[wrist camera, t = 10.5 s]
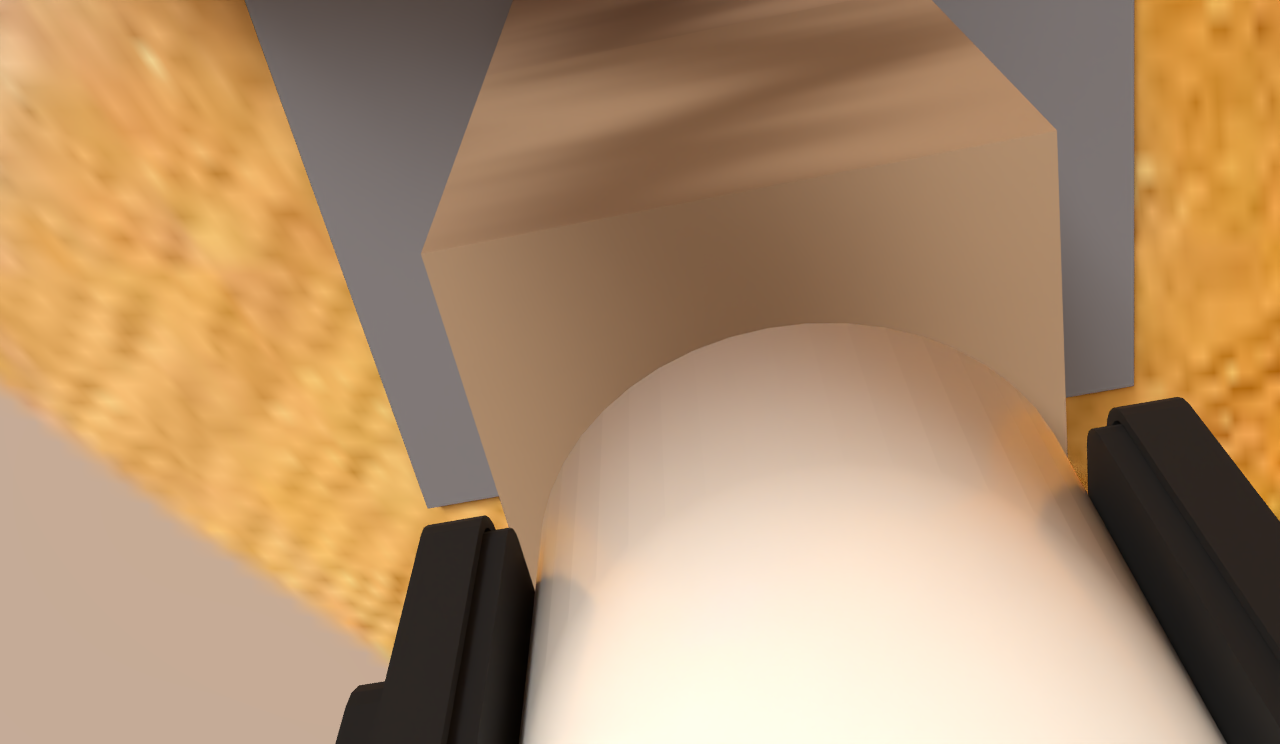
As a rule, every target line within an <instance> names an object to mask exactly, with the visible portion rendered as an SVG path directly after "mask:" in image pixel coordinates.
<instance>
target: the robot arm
mask: <svg viewBox="0 0 1280 744" xmlns="http://www.w3.org/2000/svg"><path fill="white" fill-rule="evenodd" d="M1087 465H1088V496H1089V498H1090V499H1091V501H1092V503H1093V505H1094V506H1095V508H1096V510H1097V512H1098V514H1099V515H1100V517H1101V519H1102V521H1103V523H1104V524H1105V526H1106V528H1107V530H1108V532H1109V533H1110V535H1111V537H1112V539H1113V541H1114V542H1115V544H1116V546H1117V548H1118V549H1119V551H1120V553H1121V555H1122V557H1123V558H1124V560H1125V562H1126V564H1127V566H1128V567H1129V569H1130V571H1131V573H1132V575H1133V576H1134V578H1135V580H1136V582H1137V584H1138V585H1139V587H1140V589H1141V591H1142V592H1143V594H1144V596H1145V598H1146V600H1147V601H1148V603H1149V605H1150V607H1151V609H1152V610H1153V612H1154V614H1155V616H1156V618H1157V619H1158V621H1159V623H1160V625H1161V627H1162V628H1163V630H1164V632H1165V634H1166V635H1167V637H1168V639H1169V641H1170V643H1171V644H1172V646H1173V648H1174V650H1175V652H1176V653H1177V655H1178V657H1179V659H1180V661H1181V662H1182V664H1183V666H1184V668H1185V670H1186V671H1187V673H1188V675H1189V677H1190V678H1191V680H1192V682H1193V684H1194V686H1195V687H1196V689H1197V691H1198V693H1199V695H1200V696H1201V698H1202V700H1203V702H1204V704H1205V705H1206V707H1207V709H1208V711H1209V713H1210V714H1211V716H1212V718H1213V720H1214V721H1215V723H1216V725H1217V727H1218V729H1219V730H1220V732H1221V734H1222V736H1223V738H1224V739H1225V741H1226V743H1227V744H1280V521H1279V520H1278V519H1277V517H1276V516H1275V515H1274V514H1273V512H1272V511H1271V510H1270V508H1269V507H1268V506H1267V504H1266V503H1265V502H1264V501H1263V499H1262V498H1261V497H1260V495H1259V494H1258V493H1257V491H1256V490H1255V489H1254V488H1253V486H1252V485H1251V484H1250V482H1249V481H1248V480H1247V478H1246V477H1245V476H1244V475H1243V473H1242V472H1241V471H1240V469H1239V468H1238V467H1237V465H1236V464H1235V463H1234V462H1233V460H1232V459H1231V458H1230V456H1229V455H1228V454H1227V452H1226V451H1225V450H1224V449H1223V447H1222V446H1221V445H1220V443H1219V442H1218V441H1217V440H1216V438H1215V437H1214V436H1213V434H1212V433H1211V432H1210V430H1209V429H1208V428H1207V427H1206V425H1205V424H1204V423H1203V421H1202V420H1201V419H1200V417H1199V416H1198V415H1197V414H1196V412H1195V411H1194V410H1193V408H1192V407H1191V406H1190V404H1189V403H1188V402H1186V401H1185V400H1184V399H1183V398H1180V397H1175V398H1169V399H1163V400H1157V401H1151V402H1145V403H1139V404H1133V405H1128V406H1122V407H1116V408H1113V409H1112V410H1111V411H1110V412H1109V415H1108V419H1107V426H1105V427H1099V428H1094V429H1091V430H1090V431H1089V433H1088V437H1087ZM534 597H535V589H534V586H533V583H532V580H531V577H530V574H529V570H528V567H527V564H526V561H525V558H524V555H523V552H522V548H521V545H520V542H519V539H518V537H517V534H516V532H515V531H514V529H513V528H505V529H499V530H495V527H494V525H493V523H492V521H491V520H490V518H489V517H487V516H479V517H473V518H467V519H461V520H456V521H450V522H444V523H438V524H432V525H427V526H426V527H425V528H424V529H423V531H422V534H421V537H420V541H419V545H418V549H417V553H416V557H415V562H414V566H413V570H412V574H411V578H410V582H409V586H408V590H407V594H406V598H405V602H404V606H403V610H402V614H401V618H400V623H399V627H398V631H397V635H396V639H395V643H394V647H393V651H392V655H391V659H390V663H389V667H388V671H387V675H386V679H385V682H378V683H372V684H366V685H359V686H358V687H357V688H356V689H355V690H354V691H353V692H352V693H351V695H350V698H349V700H348V703H347V705H346V708H345V711H344V715H343V719H342V722H341V726H340V729H339V733H338V737H337V740H336V744H519V737H520V728H521V719H522V709H523V700H524V691H525V681H526V672H527V663H528V653H529V644H530V635H531V625H532V616H533V607H534Z"/></svg>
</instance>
